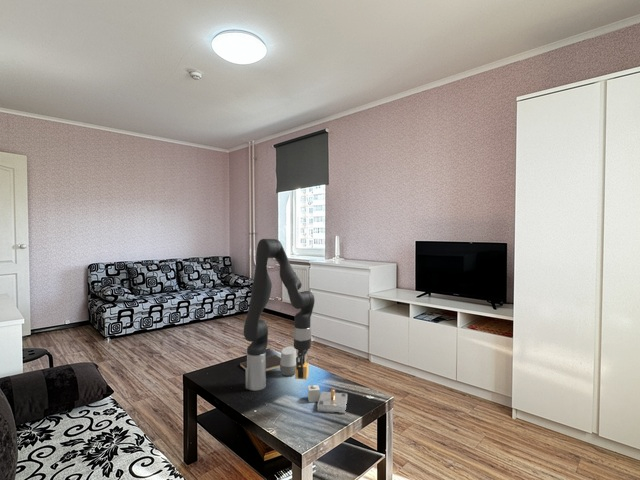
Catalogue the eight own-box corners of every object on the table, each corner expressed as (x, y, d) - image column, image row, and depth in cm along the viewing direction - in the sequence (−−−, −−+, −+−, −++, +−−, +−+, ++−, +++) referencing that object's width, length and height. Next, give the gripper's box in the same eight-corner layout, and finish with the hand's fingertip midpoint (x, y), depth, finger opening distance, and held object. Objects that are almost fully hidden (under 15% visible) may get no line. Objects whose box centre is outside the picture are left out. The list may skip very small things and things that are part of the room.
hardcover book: (288, 366, 201) (288, 362, 201) (251, 375, 188) (251, 371, 188) (274, 358, 214) (274, 354, 214) (239, 366, 200) (239, 362, 200)
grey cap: (309, 402, 158) (309, 388, 158) (307, 397, 163) (307, 384, 163) (319, 401, 159) (319, 388, 159) (318, 396, 164) (318, 383, 164)
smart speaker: (276, 373, 189) (276, 348, 189) (288, 368, 196) (288, 344, 196) (288, 378, 183) (288, 352, 182) (300, 373, 190) (300, 348, 189)
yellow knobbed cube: (295, 378, 150) (295, 364, 150) (297, 373, 155) (297, 360, 155) (306, 379, 149) (306, 365, 149) (308, 374, 154) (308, 360, 154)
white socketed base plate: (317, 411, 150) (317, 395, 150) (321, 397, 162) (321, 383, 162) (345, 413, 149) (345, 397, 148) (347, 399, 160) (347, 384, 160)
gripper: (297, 331, 159) (297, 368, 160) (290, 341, 145) (289, 381, 146) (313, 332, 158) (313, 369, 159) (307, 342, 144) (307, 383, 144)
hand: (301, 375), depth 152 cm, fingers closed on yellow knobbed cube, 5 cm apart
